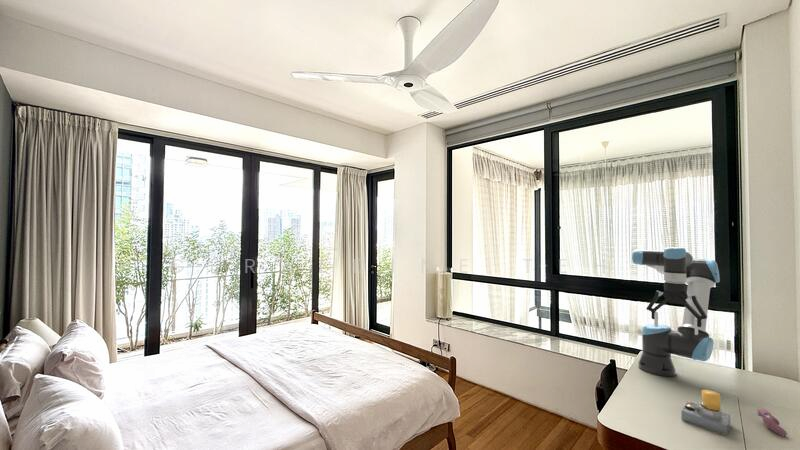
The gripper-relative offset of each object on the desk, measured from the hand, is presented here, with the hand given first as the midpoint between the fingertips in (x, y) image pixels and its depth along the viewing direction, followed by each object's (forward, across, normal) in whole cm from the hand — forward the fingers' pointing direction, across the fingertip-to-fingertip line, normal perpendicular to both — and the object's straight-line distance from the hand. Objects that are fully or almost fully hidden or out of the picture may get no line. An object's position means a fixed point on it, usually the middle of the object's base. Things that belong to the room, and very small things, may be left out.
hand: (675, 330), depth 140 cm
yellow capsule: (+24, +13, -19) cm, 33 cm away
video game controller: (+29, +27, -4) cm, 40 cm away
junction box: (+28, +11, -18) cm, 35 cm away
